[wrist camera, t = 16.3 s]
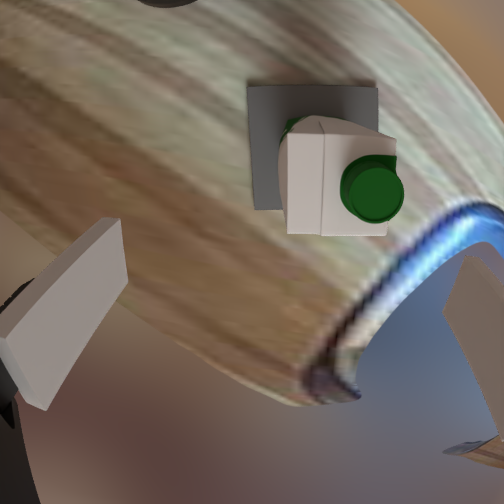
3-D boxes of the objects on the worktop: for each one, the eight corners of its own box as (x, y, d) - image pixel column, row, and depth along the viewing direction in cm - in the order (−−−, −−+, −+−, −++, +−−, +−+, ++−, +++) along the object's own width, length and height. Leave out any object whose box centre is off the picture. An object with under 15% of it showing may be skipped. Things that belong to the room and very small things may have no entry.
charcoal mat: (247, 87, 36) (246, 87, 35) (375, 88, 34) (377, 87, 33) (255, 207, 43) (254, 210, 42) (372, 206, 42) (374, 209, 41)
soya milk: (350, 182, 39) (400, 256, 22) (279, 180, 40) (276, 254, 23) (352, 114, 35) (415, 134, 18) (278, 111, 36) (275, 125, 19)
